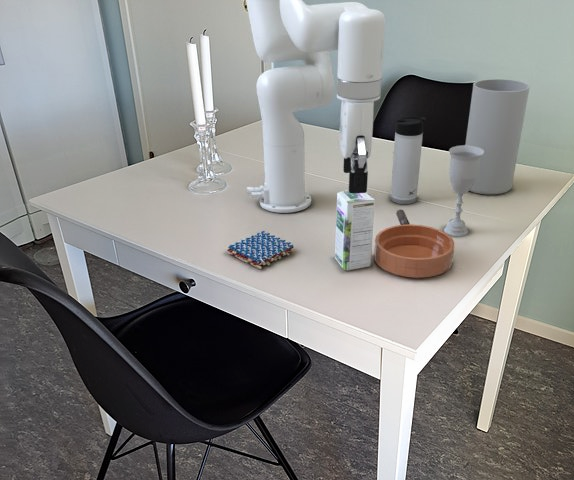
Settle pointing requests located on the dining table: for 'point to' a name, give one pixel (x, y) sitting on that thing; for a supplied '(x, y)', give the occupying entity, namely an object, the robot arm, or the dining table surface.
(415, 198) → the travel mug
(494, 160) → the cylinder vase
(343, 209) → the syrup box
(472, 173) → the chalice
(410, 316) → the dining table surface
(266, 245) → the woven mat
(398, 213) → the pan handle
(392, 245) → the pan
